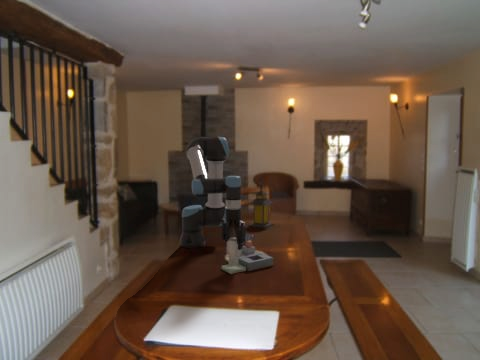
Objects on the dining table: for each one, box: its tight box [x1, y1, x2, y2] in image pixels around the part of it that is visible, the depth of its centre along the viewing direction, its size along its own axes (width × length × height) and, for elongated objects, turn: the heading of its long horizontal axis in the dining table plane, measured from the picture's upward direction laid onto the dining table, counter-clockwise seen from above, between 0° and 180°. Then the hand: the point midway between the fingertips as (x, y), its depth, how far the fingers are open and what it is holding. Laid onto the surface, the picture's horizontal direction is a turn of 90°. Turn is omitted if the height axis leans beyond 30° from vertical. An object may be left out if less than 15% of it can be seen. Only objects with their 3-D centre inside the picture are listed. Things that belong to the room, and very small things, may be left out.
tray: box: [221, 263, 247, 275], centre depth 202 cm, size 9×9×2 cm
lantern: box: [248, 183, 274, 229], centre depth 297 cm, size 14×14×30 cm
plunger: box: [246, 240, 253, 248], centre depth 218 cm, size 3×3×4 cm
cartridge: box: [227, 236, 239, 265], centre depth 201 cm, size 5×5×13 cm
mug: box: [242, 233, 254, 251], centre depth 228 cm, size 12×9×11 cm
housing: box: [239, 245, 274, 272], centre depth 212 cm, size 18×15×7 cm
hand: (233, 254), depth 201 cm, fingers closed on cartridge, 5 cm apart
